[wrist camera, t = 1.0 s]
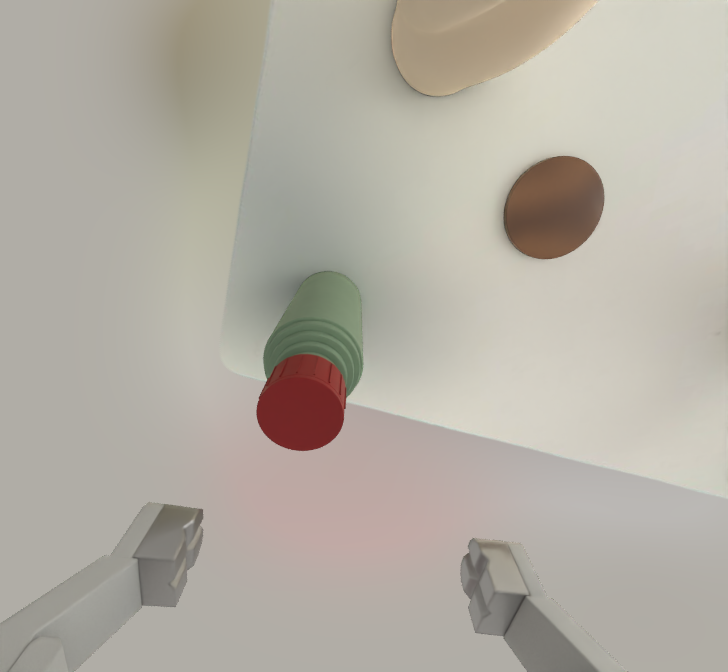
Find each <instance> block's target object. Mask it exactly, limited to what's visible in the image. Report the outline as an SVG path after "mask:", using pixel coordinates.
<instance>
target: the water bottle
mask: <svg viewBox="0 0 728 672" xmlns="http://www.w3.org/2000/svg"><path fill="white" fill-rule="evenodd" d="M598 1H599V0H397V6H396V10H395V14H394V17H393V22H392V29H391V43H392V50H393V55H394V59H395V61H396V64H397V67H398V69H399V71H400V73H401V74H402V76H403V78H404V79H405V80H406V82H407V83H408V84H409V85H410V86H411V87H413V88H414V89H415V90H417V91H418V92H421V93H423V94H426V95H430V96H446V95H451V94H454V93H456V92H459V91H460V90H462V89H464V88H467V87H470V86H473V85H476V84H479V83H482V82H485V81H487V80H490V79H492V78H495V77H498V76H500V75H502V74H504V73H507V72H509V71H511V70H513V69H515V68H516V67H518V66H520V65H521V64H523V63H525V62H527V61H528V60H530V59H531V58H533V57H535V56H536V55H538V54H539V53H541V52H542V51H543V50H545V49H546V48H548V47H549V46H550V45H552V44H553V43H554V42H556V41H557V40H558V39H559V38H560V37H562V36H563V35H564V34H565V33H566V32H567V31H568V30H570V29H571V28H572V27H573V26H574V25H575V24H576V23H578V22H579V21H580V20H581V19H582V18H583V16H584V15H585V14H586V13H587V12H588V11H589V10H590V9H591V8H592V7H593V6H594V5H595V4H596V3H597V2H598Z"/></svg>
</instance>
